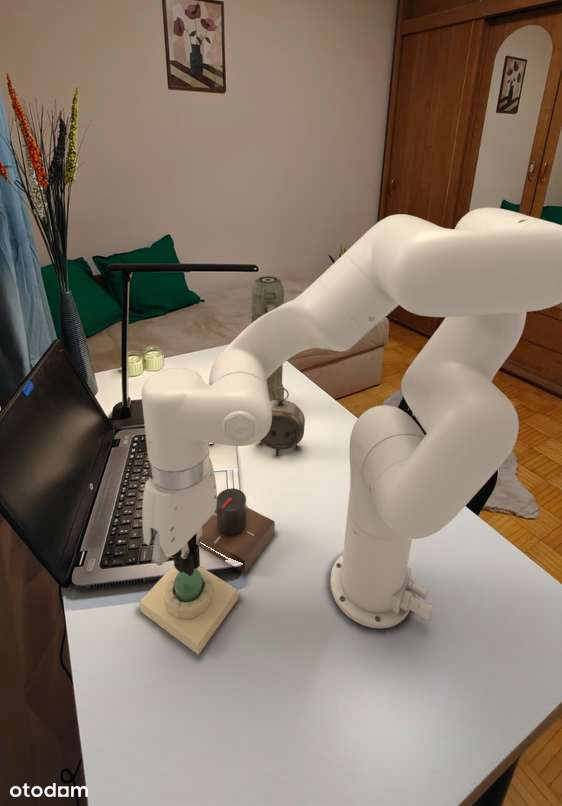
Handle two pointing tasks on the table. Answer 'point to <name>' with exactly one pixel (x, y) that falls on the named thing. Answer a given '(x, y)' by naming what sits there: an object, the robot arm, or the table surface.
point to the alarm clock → (284, 425)
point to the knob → (231, 512)
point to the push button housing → (190, 608)
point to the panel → (239, 539)
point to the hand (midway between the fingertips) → (187, 566)
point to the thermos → (263, 301)
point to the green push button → (188, 586)
